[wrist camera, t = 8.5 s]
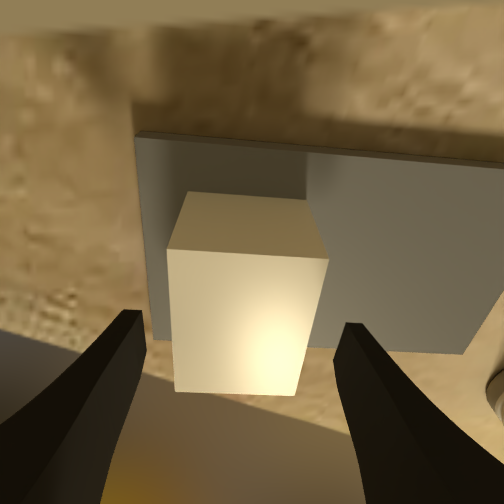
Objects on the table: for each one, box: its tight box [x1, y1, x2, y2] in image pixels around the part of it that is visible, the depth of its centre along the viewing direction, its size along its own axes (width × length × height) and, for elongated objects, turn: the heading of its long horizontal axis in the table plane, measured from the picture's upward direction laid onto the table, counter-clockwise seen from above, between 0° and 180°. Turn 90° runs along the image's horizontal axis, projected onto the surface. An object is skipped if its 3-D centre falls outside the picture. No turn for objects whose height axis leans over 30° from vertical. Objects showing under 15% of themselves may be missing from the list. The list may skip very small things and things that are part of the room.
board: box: [134, 131, 504, 355], centre depth 15 cm, size 18×11×4 cm, turn 85°
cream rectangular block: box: [167, 191, 329, 396], centre depth 14 cm, size 5×7×4 cm
